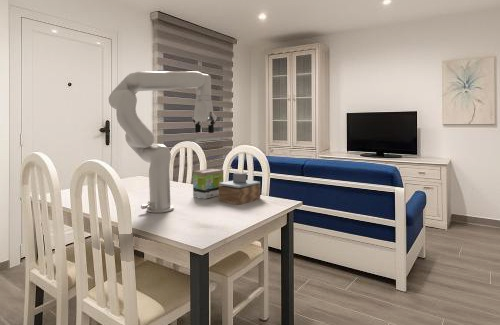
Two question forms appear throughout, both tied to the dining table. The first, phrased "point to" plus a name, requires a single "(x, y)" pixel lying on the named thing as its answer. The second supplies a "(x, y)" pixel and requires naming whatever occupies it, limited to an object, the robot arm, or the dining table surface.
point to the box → (239, 194)
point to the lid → (238, 185)
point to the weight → (239, 177)
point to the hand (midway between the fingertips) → (204, 132)
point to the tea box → (207, 183)
